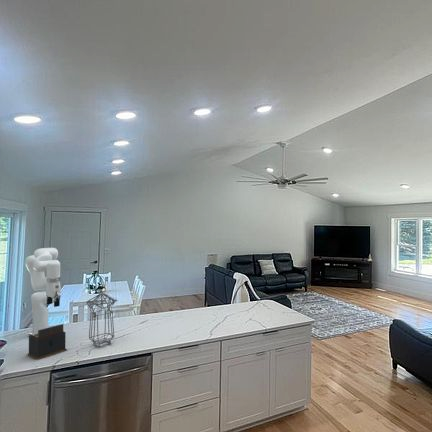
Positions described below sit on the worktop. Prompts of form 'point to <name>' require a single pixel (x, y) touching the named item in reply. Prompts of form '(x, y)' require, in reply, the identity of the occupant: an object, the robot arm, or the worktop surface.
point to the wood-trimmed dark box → (46, 345)
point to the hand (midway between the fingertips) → (53, 305)
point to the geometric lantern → (101, 314)
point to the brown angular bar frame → (49, 331)
